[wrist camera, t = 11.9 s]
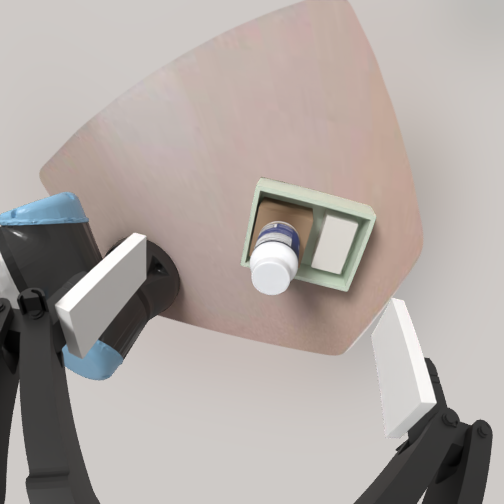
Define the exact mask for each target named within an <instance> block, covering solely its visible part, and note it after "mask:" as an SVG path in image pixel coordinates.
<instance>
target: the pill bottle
mask: <svg viewBox="0 0 504 504" xmlns="http://www.w3.org/2000/svg"><path fill="white" fill-rule="evenodd" d="M299 247H300V239H299V235H298V233H297V231H296V229H295V228H294V227H293V226H291V225H290V224H288V223H285V222H281V221H275V222H271V223H269V224H267V225H265V226H264V227H263V228H262V230H261V231H260V233H259V236H258V239H257V242H256V244H255V247H254V250H253V252H252V255H251V258H250V270H251V272H252V276H251V278H252V283H253V285H254V287H255V288H256V289H257V290H258V291H260V292H261V293H264V294H267V295H277V294H280V293H282V292H284V291H285V290H286V289H287V288H288V286H289V284H290V281H291V280H292V279H293V278H294V277H295V275H296V273H297V270H298V261H299Z"/></svg>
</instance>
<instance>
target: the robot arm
mask: <svg viewBox="0 0 504 504" xmlns="http://www.w3.org/2000/svg"><path fill="white" fill-rule="evenodd" d="M88 222H89V219H88V218H87V217H86V215H85V213H84V211H83V208H82V206H81V203H80V201H79V199H78V197H77V196H76V195H75V194H73V193H71V192H63V193H60V194H56V195H53V196H50V197H47V198H44V199H41V200H38V201H35V202H32V203H29V204H27V205H23V206H21V207H18V208H15V209H13V210H10V211H7V212H5V213H2V214H1V215H0V225H1V227H0V504H4V501H5V494H6V473H7V457H8V446H9V437H10V429H11V421H12V415H13V409H14V404H15V398H16V393H17V388H18V383H19V379H20V402H21V415H22V426H23V434H24V442H25V448H26V455H27V461H28V465H29V473H30V474H29V476H28V477H27V478H26V489H27V494H28V498H29V501H30V504H100V502H99V500H98V499H97V497H96V495H95V493H94V491H93V489H92V486H91V483H90V480H89V477H88V473H87V470H86V467H85V463H84V460H83V456H82V453H81V449H80V445H79V441H78V437H77V433H76V429H75V424H74V420H73V415H72V410H71V404H70V399H69V393H68V387H67V380H66V373H65V367H67V368H68V369H70V370H72V371H73V372H75V373H77V374H79V375H81V376H83V377H85V378H88V379H93V380H105V379H107V378H109V377H110V376H112V374H113V373H114V372H115V370H116V369H117V368H118V366H119V365H121V364H122V362H123V360H124V359H125V357H126V355H127V354H128V352H129V350H130V349H131V347H132V346H133V344H134V342H135V341H136V339H137V338H138V336H139V334H140V333H141V331H142V330H143V328H144V327H145V325H146V323H147V322H148V321H149V320H150V319H152V318H153V317H155V316H156V315H158V314H159V313H161V312H163V311H165V310H166V309H167V308H168V307H169V306H170V305H171V304H172V302H173V301H174V299H175V298H176V296H177V294H178V291H179V276H178V272H177V269H176V267H175V265H174V263H173V262H172V260H171V259H170V257H169V256H168V255H167V254H166V253H165V252H164V251H163V250H162V249H161V248H160V247H159V246H157V245H156V244H154V243H152V242H151V241H148V240H146V236H145V235H141V234H137V233H133V234H132V235H131V236H130V237H128V238H124V239H121V240H120V241H118V242H117V243H116V244H115V245H113V246H112V247H111V248H110V249H109V250H108V252H107V253H106V255H105V257H104V259H103V258H102V256H101V254H100V251H99V249H98V246H97V244H96V241H95V239H94V236H93V234H92V231H91V228H90V226H89V223H88ZM371 338H372V344H373V349H374V355H375V361H376V367H377V374H378V381H379V387H380V395H381V402H382V410H383V420H384V429H385V438H401V437H402V436H403V435H404V434H405V433H407V432H408V437H409V439H408V440H406V441H405V442H404V443H403V444H402V445H400V446H399V447H398V448H397V449H396V451H398V452H397V453H396V454H395V456H394V457H393V458H392V460H391V461H390V462H389V463H388V465H387V466H386V467H385V468H384V470H383V471H382V472H381V473H380V475H379V476H378V477H377V478H376V479H375V481H374V482H373V483H372V484H371V485H370V486H369V488H368V489H367V490H366V491H365V492H364V493H363V494H362V495H361V496H360V497H359V499H357V500H356V502H355V503H354V504H417V502H418V501H419V499H420V498H421V496H422V495H423V493H424V492H425V490H426V489H427V490H426V493H425V496H424V499H423V502H422V504H482V501H483V497H484V492H485V487H486V482H487V476H488V470H489V463H490V455H491V447H492V436H493V435H492V429H491V427H490V425H489V424H488V423H487V422H485V421H484V420H477V421H476V422H475V423H474V424H472V425H468V424H465V423H462V422H460V420H459V417H458V415H457V414H456V412H455V411H454V410H452V409H450V408H447V405H446V401H445V397H444V394H443V390H442V387H441V384H440V380H439V377H438V374H437V370H436V367H435V366H434V364H433V363H432V361H431V360H430V359H429V358H424V357H423V354H422V350H421V347H420V344H419V342H418V338H417V336H416V332H415V330H414V327H413V324H412V321H411V319H410V316H409V313H408V310H407V308H406V305H405V303H404V300H399V299H395V298H391V300H390V302H389V304H388V306H387V308H386V310H385V311H384V313H383V315H382V317H381V319H380V321H379V323H378V324H377V326H376V328H375V330H374V332H373V334H372V335H371ZM427 487H428V488H427Z"/></svg>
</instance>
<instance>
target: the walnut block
mask: <svg viewBox="0 0 504 504" xmlns="http://www.w3.org/2000/svg"><path fill="white" fill-rule="evenodd" d="M275 221H281V222H285V223H288V224H290V225H291V226H293V227H294V228H295V229H296V231H297V233H298V235H299V239H300V247H299V261H298V268H299V267H300V264H301V261H302V257H303V254H304V251H305V248H306V244H307V241H308V238H309V234H310V231H311V227H312V224H313V208H309V207H305V206H301V205H297V204H293V203H289V202H285V201H281V200H277V199H273V198H269V197H265V196H264V198H263V200H262V202H261V204H260V207H259V210H258V214H257V219H256V224H255V229H254V233H253V238H252V243H251V248H250V253H249V256H251V255H252V252H253V250H254V247H255V244H256V242H257V239H258V236H259V233H260V231H261V230H262V228H263V227H264V226H265V225H267V224H269V223H271V222H275Z"/></svg>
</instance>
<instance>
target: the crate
mask: <svg viewBox="0 0 504 504" xmlns="http://www.w3.org/2000/svg"><path fill="white" fill-rule="evenodd" d="M264 196H265V197H269V198H273V199H277V200H281V201H285V202H289V203H293V204H297V205H301V206H305V207H309V208H313V224H312V227H311V231H310V234H309V238H308V241H307V244H306V248H305V251H304V254H303V257H302V261H301V264H300V267H299V268H298V270H297V273H296V275H295V277H294V278H293V279H297V280H301V281H305V282H309V283H313V284H317V285H321V286H325V287H329V288H334V289H338V290H342V291H346V292H347V291H348V289H349V287H350V284H351V282H352V280H353V277H354V275H355V272H356V270H357V267H358V265H359V262H360V260H361V257H362V255H363V252H364V250H365V247H366V244H367V242H368V239H369V236H370V234H371V231H372V228H373V226H374V223H375V220H376V215H375V213H374V212H373V210H372V208H371V206H369V205H366V204H362V203H359V202H355V201H352V200H349V199H345V198H342V197H338V196H334V195H331V194H327V193H323V192H320V191H316V190H312V189H308V188H304V187H301V186H297V185H293V184H289V183H285V182H280V181H276V180H272V179H268V178H263V177H261V179H260V180H259V182H258V183H257V185H256V189H255V194H254V199H253V204H252V209H251V214H250V219H249V224H248V229H247V234H246V239H245V244H244V249H243V254H242V259H241V264H240V265H241V266H245V267H249V268H250V258H251V256H249V253H250V248H251V243H252V238H253V233H254V229H255V224H256V219H257V214H258V210H259V207H260V204H261V202H262V200H263V198H264ZM326 209H330V210H333V211H337V212H341V213H344V214H348V215H351V216H355V217H356V220H357V223H358V227H357V230H356V232H355V235H354V238H353V241H352V244H351V246H350V249H349V252H348V255H347V257H346V260H345V263H344V265H343V268H342V270H341V273H340V274H336V273H332V272H328V271H324V270H320V269H316V268H312V267H311V256H312V253H313V249H314V246H315V243H316V240H317V237H318V233H319V230H320V227H321V224H322V220H323V217H324V214H325V210H326Z"/></svg>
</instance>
